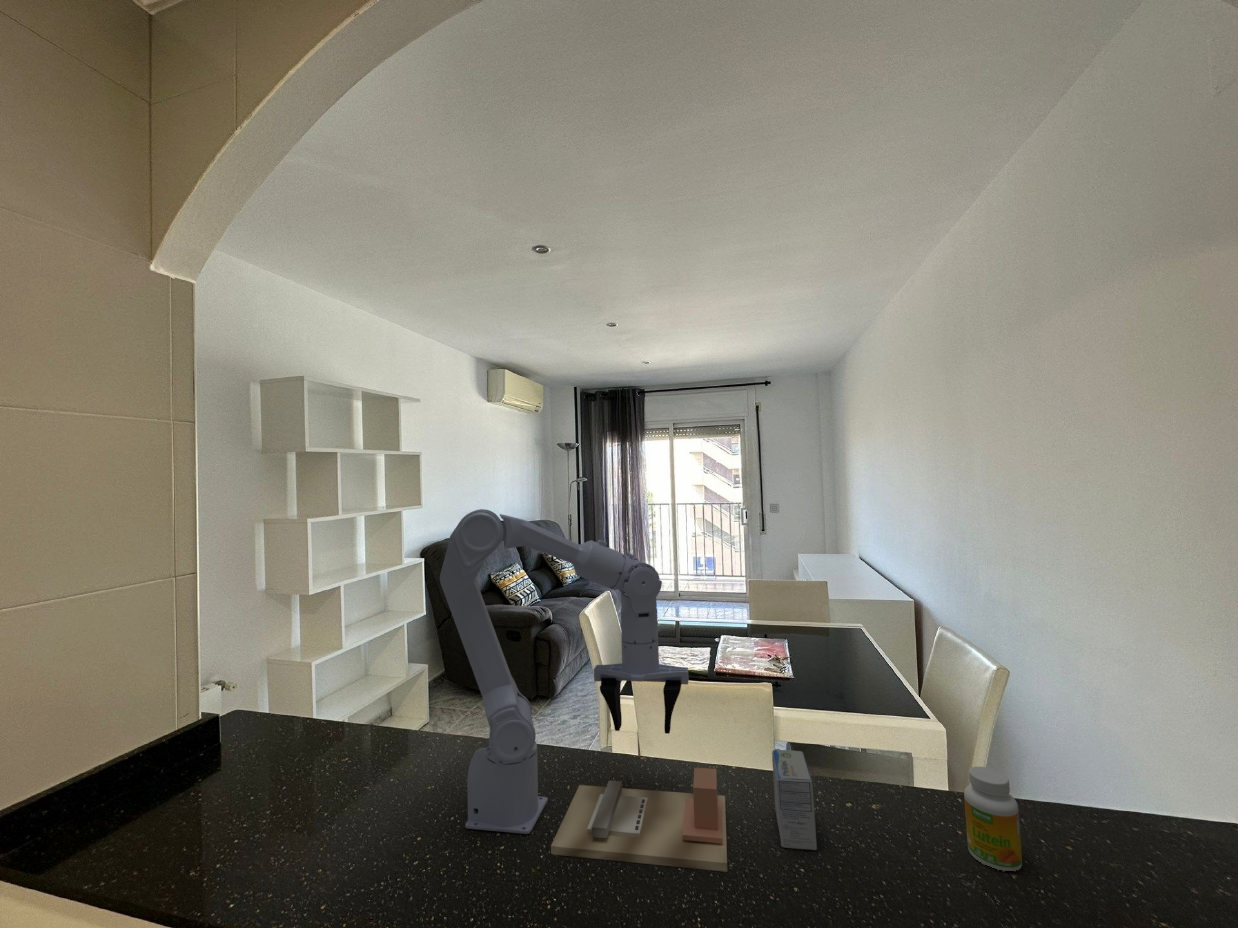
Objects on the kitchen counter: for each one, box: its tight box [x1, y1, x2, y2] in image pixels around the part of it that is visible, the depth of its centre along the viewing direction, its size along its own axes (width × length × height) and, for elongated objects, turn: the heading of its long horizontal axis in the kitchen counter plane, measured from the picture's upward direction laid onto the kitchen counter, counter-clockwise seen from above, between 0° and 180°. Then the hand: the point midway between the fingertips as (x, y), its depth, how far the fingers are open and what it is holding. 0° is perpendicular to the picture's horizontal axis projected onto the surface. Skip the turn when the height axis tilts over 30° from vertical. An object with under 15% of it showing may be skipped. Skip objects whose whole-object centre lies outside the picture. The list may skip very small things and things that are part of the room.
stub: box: [682, 767, 723, 843], centre depth 69 cm, size 5×8×6 cm, turn 170°
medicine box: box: [771, 749, 818, 851], centre depth 69 cm, size 8×4×9 cm, turn 169°
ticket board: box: [550, 780, 728, 873], centre depth 70 cm, size 22×14×3 cm, turn 79°
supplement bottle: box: [963, 766, 1023, 872], centre depth 63 cm, size 5×5×10 cm
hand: (642, 729), depth 79 cm, fingers open, 7 cm apart
